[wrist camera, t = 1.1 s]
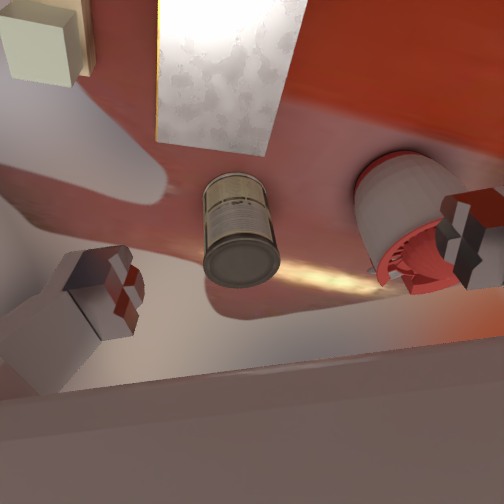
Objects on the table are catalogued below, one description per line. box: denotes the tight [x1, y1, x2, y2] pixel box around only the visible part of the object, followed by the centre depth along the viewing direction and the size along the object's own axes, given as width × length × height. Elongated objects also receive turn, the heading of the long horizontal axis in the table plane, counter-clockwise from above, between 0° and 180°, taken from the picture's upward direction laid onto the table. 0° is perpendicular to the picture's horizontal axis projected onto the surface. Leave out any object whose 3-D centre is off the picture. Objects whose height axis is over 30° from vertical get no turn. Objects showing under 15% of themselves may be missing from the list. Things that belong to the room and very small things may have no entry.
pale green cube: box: [0, 0, 83, 87], centre depth 32 cm, size 5×5×5 cm
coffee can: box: [203, 172, 280, 288], centre depth 51 cm, size 10×10×14 cm
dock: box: [156, 0, 308, 156], centre depth 37 cm, size 28×14×3 cm, turn 167°
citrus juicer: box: [354, 151, 469, 295], centre depth 50 cm, size 16×17×20 cm
